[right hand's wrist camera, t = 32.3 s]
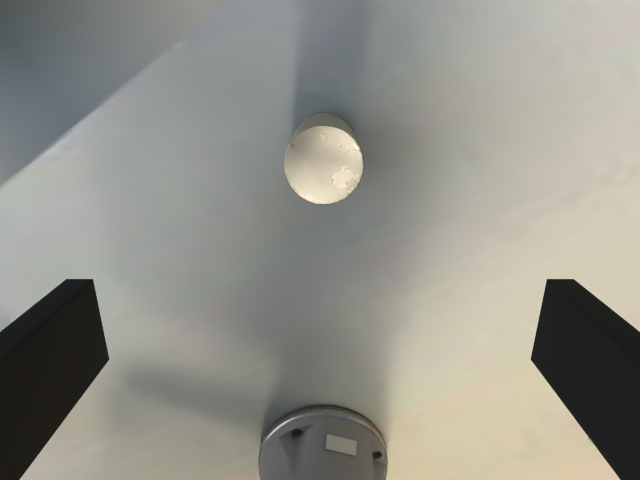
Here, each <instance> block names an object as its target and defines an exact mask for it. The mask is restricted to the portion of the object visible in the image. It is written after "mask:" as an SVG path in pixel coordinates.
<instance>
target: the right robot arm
mask: <svg viewBox="0 0 640 480" xmlns="http://www.w3.org/2000/svg"><path fill="white" fill-rule="evenodd" d="M108 360H109V356H108V351H107V346H106V341H105V336H104V331H103V326H102V322H101V317H100V312H99V307H98V302H97V297H96V292H95V287H94V282H93V279H66V280H65V281H64V282H62V283H61V284H60V285H59V286H57V287H56V288H55V289H54V290H52V291H51V292H50V293H49V294H47V295H46V296H45V297H44V298H42V299H41V300H40V301H39V302H37V303H36V304H35V305H34V306H32V307H31V308H30V309H29V310H27V311H26V312H25V313H24V314H22V315H21V316H20V317H18V318H17V319H16V320H15V321H13V322H12V323H11V324H10V325H8V326H7V327H6V328H5V329H3V330H2V331H1V332H0V480H19V479H20V478H21V477H22V475H23V474H24V473H25V471H26V470H27V469H28V467H29V466H30V465H31V463H32V462H33V461H34V459H35V458H36V457H37V455H38V454H39V453H40V451H41V450H42V449H43V447H44V446H45V445H46V443H47V442H48V441H49V439H50V438H51V437H52V435H53V434H54V433H55V431H56V430H57V429H58V427H59V426H60V425H61V423H62V422H63V421H64V419H65V418H66V417H67V415H68V414H69V413H70V411H71V410H72V409H73V407H74V406H75V404H76V403H77V402H78V400H79V399H80V398H81V396H82V395H83V394H84V392H85V391H86V390H87V388H88V387H89V386H90V384H91V383H92V382H93V380H94V379H95V378H96V376H97V375H98V374H99V372H100V371H101V370H102V368H103V367H104V366H105V364H106V363H107V362H108ZM531 360H532V362H533V363H534V364H535V366H536V367H537V368H538V370H539V371H540V372H541V374H542V375H543V376H544V378H545V379H546V380H547V382H548V383H549V384H550V386H551V387H552V388H553V390H554V391H555V392H556V394H557V395H558V396H559V398H560V399H561V400H562V402H563V403H564V404H565V406H566V407H567V409H568V410H569V411H570V413H571V414H572V415H573V417H574V418H575V419H576V421H577V422H578V423H579V425H580V426H581V427H582V429H583V430H584V431H585V433H586V434H587V435H588V437H589V438H590V439H591V441H592V442H593V443H594V445H595V446H596V447H597V449H598V450H599V451H600V453H601V454H602V455H603V457H604V458H605V459H606V461H607V462H608V463H609V465H610V466H611V467H612V469H613V470H614V471H615V473H616V474H617V475H618V477H619V478H620V480H640V332H639V331H638V330H637V329H635V328H634V327H633V326H632V325H630V324H629V323H628V322H627V321H625V320H624V319H623V318H622V317H620V316H619V315H618V314H616V313H615V312H614V311H613V310H611V309H610V308H609V307H608V306H606V305H605V304H604V303H603V302H601V301H600V300H599V299H598V298H596V297H595V296H594V295H593V294H591V293H590V292H589V291H588V290H586V289H585V288H584V287H583V286H581V285H580V284H579V283H578V282H576V281H575V280H574V279H547V282H546V287H545V292H544V297H543V302H542V307H541V312H540V317H539V322H538V326H537V331H536V336H535V341H534V346H533V351H532V356H531ZM387 465H388V461H387V453H386V448H385V443H384V440H383V438H382V436H381V434H380V432H379V431H378V430H377V428H376V427H375V426H374V425H373V424H372V423H371V422H370V421H368V420H367V419H366V418H364V417H363V416H361V415H359V414H357V413H355V412H352V411H350V410H347V409H343V408H339V407H333V406H313V407H307V408H302V409H299V410H296V411H293V412H291V413H289V414H287V415H285V416H283V417H282V418H280V419H279V420H277V421H276V422H275V423H274V424H273V425H272V426H271V427H270V428H269V429H268V431H267V432H266V434H265V436H264V438H263V440H262V443H261V448H260V454H259V475H260V480H386V476H387Z"/></svg>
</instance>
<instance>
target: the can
mask: <svg viewBox="0 0 640 480" xmlns="http://www.w3.org/2000/svg"><path fill="white" fill-rule="evenodd" d="M363 170H364V159H363V154H362V151H361V148H360V146H359V144H358V142H357V140H356V138H355V136H354V134H353V131H352V130H351V128H350V126H349V125H348V124H347V123H346V121H344V120H343V119H342V118H340V117H339V116H337V115H334V114H331V113H317V114H313V115H311V116H309V117H307V118H305V119H304V120H303V121H302V122H301V123H300V124H299V125H298V127H297V128H296V130H295V132H294V134H293V137H292V139H291V141H290V143H289V145H288V148H287V150H286V153H285V157H284V172H285V176H286V179H287V181H288V183H289V185H290V187H291V188H292V189H293V191H294V192H295V193H296V194H297V195H299V196H300V197H301V198H303V199H305V200H307V201H309V202H312V203H316V204H332V203H336V202H338V201H341V200H343V199H345V198H346V197H348V196H349V195H350V194H351V193H352V192H353V191H354V190H355V189H356V187H357V186H358V184H359V182H360V180H361V178H362V175H363Z"/></svg>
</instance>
